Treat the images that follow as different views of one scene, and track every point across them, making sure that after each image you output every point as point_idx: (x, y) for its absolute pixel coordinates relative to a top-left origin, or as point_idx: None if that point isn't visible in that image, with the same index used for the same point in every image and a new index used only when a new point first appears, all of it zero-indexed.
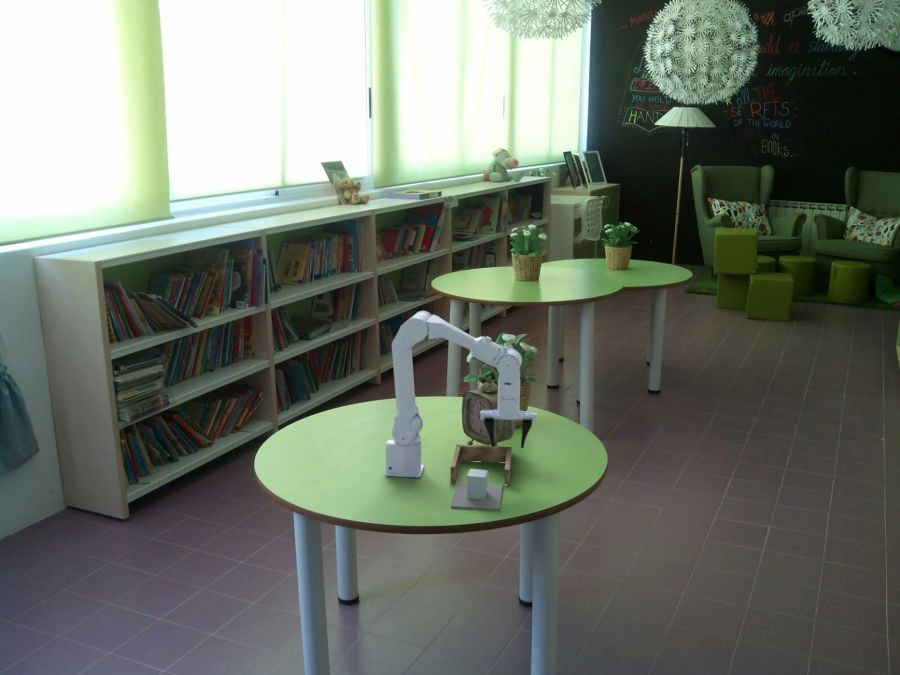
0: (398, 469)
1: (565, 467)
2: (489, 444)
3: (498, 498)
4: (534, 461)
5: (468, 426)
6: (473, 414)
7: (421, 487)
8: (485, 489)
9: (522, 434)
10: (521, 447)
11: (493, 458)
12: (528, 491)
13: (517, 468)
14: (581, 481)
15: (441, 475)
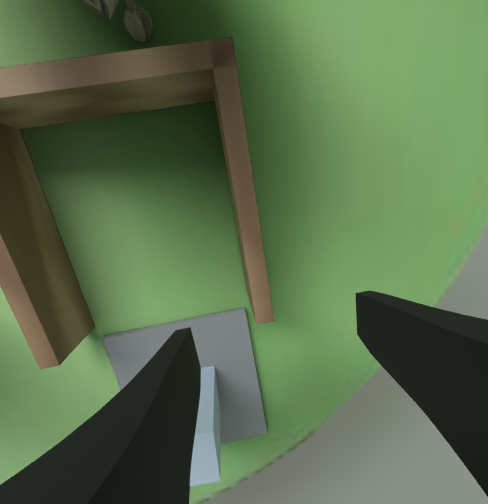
0: None
1: (432, 80)
2: (93, 8)
3: (252, 388)
4: (318, 42)
5: None
6: None
7: (9, 384)
8: (218, 420)
9: (446, 434)
10: (362, 336)
11: (155, 101)
12: (321, 310)
13: (263, 141)
14: (470, 195)
15: None
